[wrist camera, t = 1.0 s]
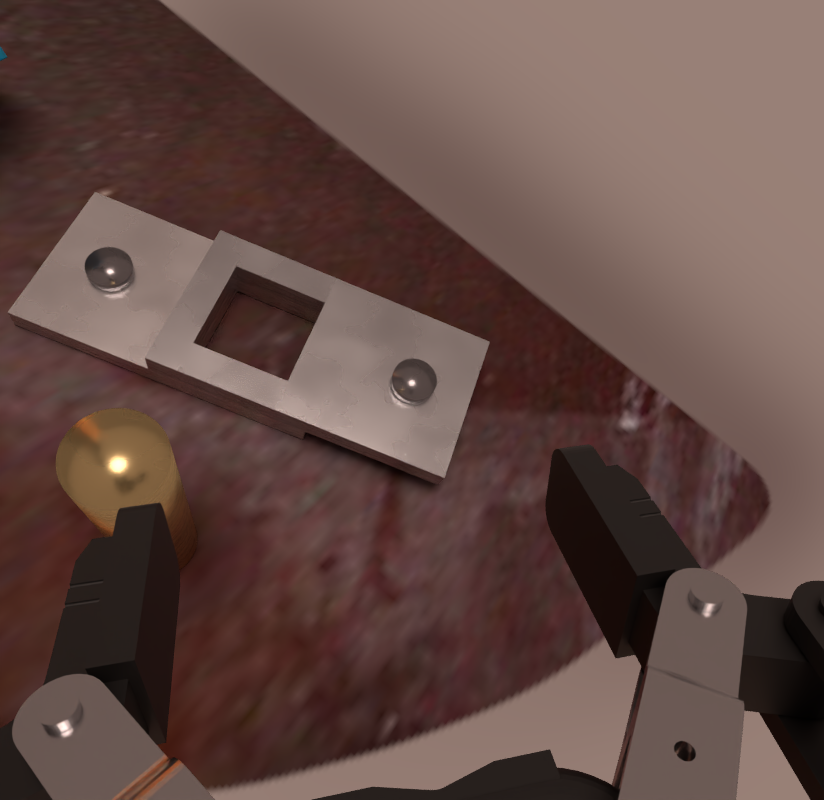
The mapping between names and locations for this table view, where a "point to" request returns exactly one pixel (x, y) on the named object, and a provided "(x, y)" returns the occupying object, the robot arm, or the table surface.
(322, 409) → the bolted metal plate
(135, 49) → the table surface
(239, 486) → the table surface
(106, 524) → the brass pin
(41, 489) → the table surface
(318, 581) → the table surface
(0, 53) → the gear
